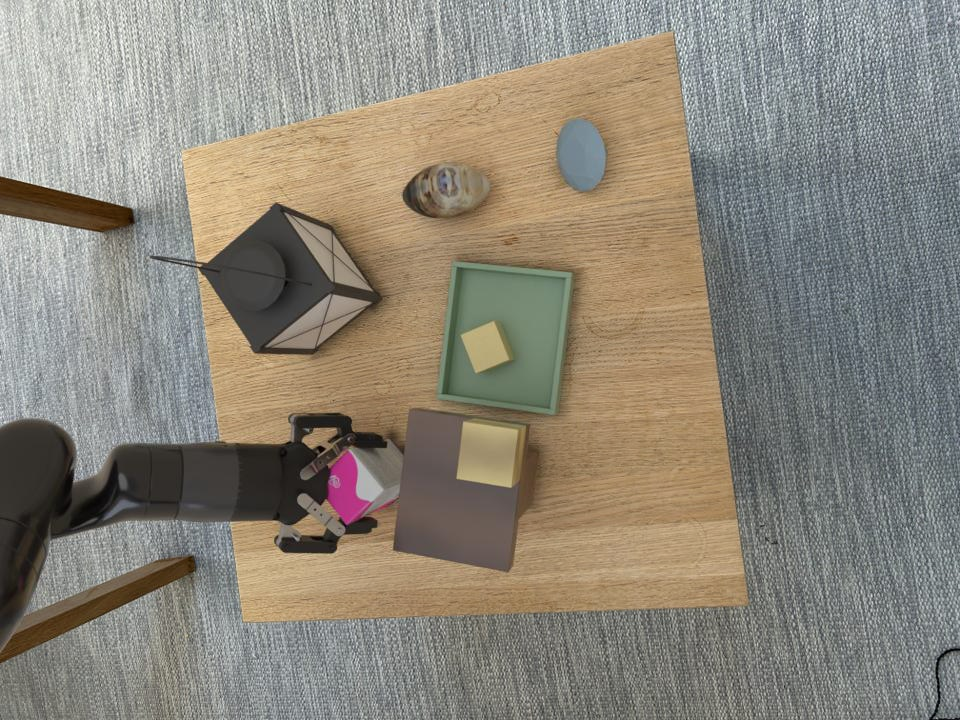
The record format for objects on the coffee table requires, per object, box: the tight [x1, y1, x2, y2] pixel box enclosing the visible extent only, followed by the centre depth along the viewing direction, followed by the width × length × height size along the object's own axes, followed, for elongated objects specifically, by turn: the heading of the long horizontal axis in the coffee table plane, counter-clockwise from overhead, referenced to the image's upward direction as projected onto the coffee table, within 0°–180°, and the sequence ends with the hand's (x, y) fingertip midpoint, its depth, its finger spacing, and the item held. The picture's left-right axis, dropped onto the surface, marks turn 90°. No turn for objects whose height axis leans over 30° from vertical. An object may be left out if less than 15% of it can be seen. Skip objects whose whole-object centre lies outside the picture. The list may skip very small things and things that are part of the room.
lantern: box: [149, 202, 383, 356], centre depth 77 cm, size 11×11×28 cm
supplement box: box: [326, 438, 404, 525], centre depth 83 cm, size 6×6×12 cm
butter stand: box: [392, 407, 540, 573], centre depth 73 cm, size 12×10×26 cm
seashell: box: [401, 162, 491, 219], centre depth 83 cm, size 10×6×8 cm, turn 98°
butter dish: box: [435, 260, 576, 416], centre depth 84 cm, size 15×13×3 cm
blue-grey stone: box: [555, 117, 608, 193], centre depth 82 cm, size 8×8×5 cm
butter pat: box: [461, 321, 515, 374], centre depth 84 cm, size 4×4×4 cm
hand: (379, 482), depth 82 cm, fingers open, 8 cm apart
